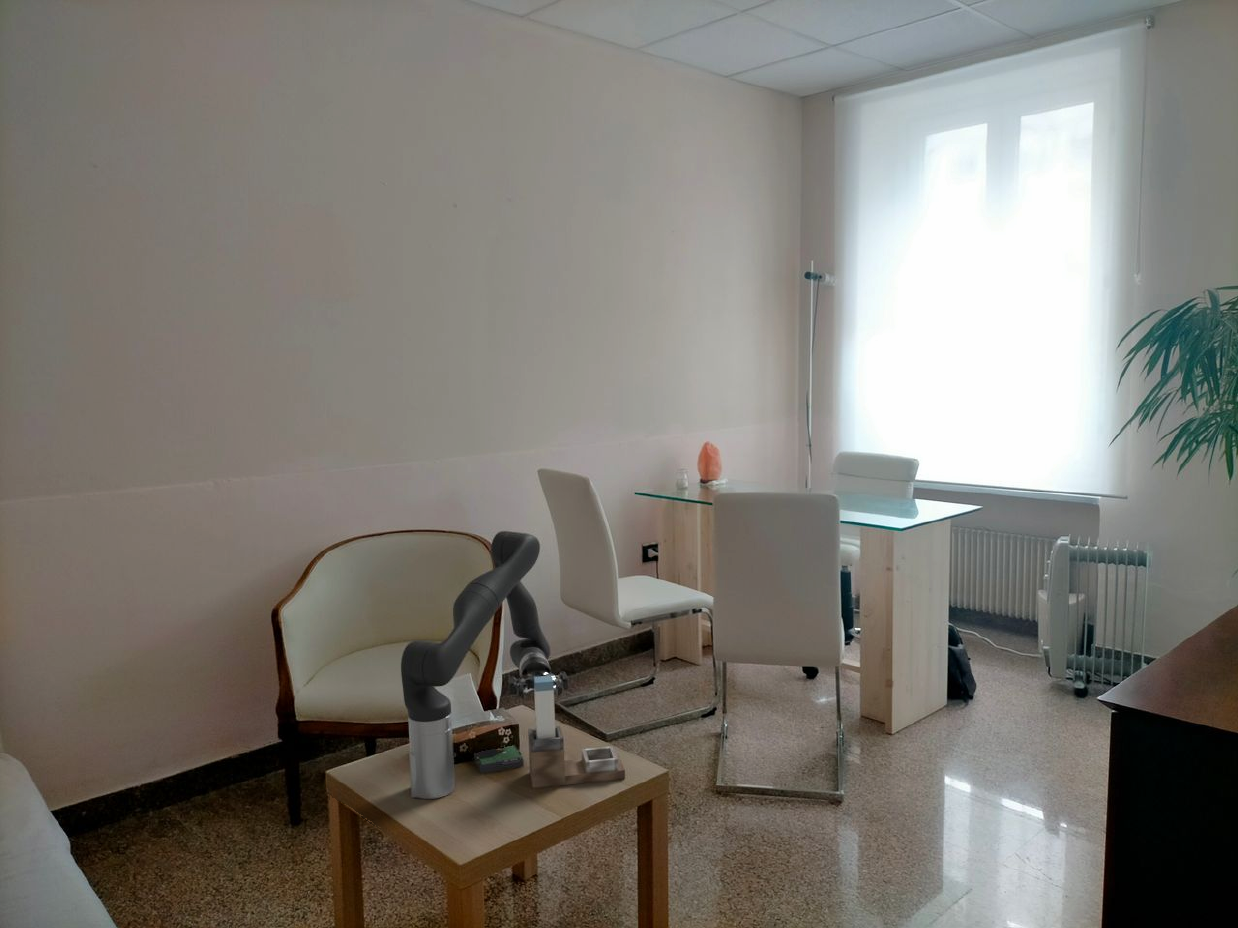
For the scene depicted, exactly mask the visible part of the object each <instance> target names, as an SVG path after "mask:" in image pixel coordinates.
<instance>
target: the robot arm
mask: <svg viewBox="0 0 1238 928" xmlns="http://www.w3.org/2000/svg"><path fill="white" fill-rule="evenodd" d="M490 545H491V546H490V548H491V549H490V553H491V555H490V556H491V559H492V562H493V567H494V569H491V570H489V571H487V572H484V573H482V574H480V575H478V576H476V577H475V578H473V579H472V580H471V581H469V583H467V585H466V586H465V587H464V588H463V590H462V591H461V592H460V593H459V594H458V596H456V597H457V598H456V599H455V600H454V603H453V606H452V607H453V608H452V619H453V628H452V630H451V632H450V634H448V636H447V637H446V638H445V639H444V640H443V641H442V642H438V641H437V642H436V641H426V640H414V641H411V642H409V643H408V644H407V645H406V646H405V648H404V650H403V653H402V655H401V661H400V673H401V674H400V675H401V684H402V692H403V703H404V705H405V707H406V710H407V716H408V717H407V719H408V735H409V736H408V737H409V756H408V757H409V771H410V789H411V790H410V791H411V798H419V799H426V800H427V799H428V800H430V799H438V798H439V799H440V798H442V797H446V796H447V795H449V794H450V795H451V793H452V792H454V790H455V788H456V784H455V779H456V778H455V764H454V763H455V760H454V741H453V740H454V739H453V724H452V723H453V720H452V702H451V700H450V699H449V697H447V696H446V695H445V694H443V693H442V692H440V691H439V690H438V689H437V688H436V687H443V686H446V685H447V684H449V682H451V681H452V679H453V678H454V676H455V675H456V674H457V672H458V670H459V668H460V667H461V665H462V664H463V662H464V660H465V658H466V656H467V655H468V653H469V651H470V649H471V647H472V646H473V644H474V642H475V641H476V640H477V639H478V636H479V635H480V634H481V632H482V631H483V630H484V629H485V627H486V625H488V623H489V622H490V620H492V618H493V617H494V615H495V614H496V613H497V611H498V609H500V607H501V605H502V603H503V602H504V601H505V600H506V601H507V605H508V609H509V616H510V620H511V621H510V622H511V627H512V631H513V635H515V636H516V637H518V638H521V639H518V640H516V641H514V642H513V643H512V644H511V645H510V648H509V656H510V659H511V661H512V663H513V665H514V666H515V667H516V668H517V669H518V670H519V678H516V677H515V676H514V675H509V676H508V694H510V695H513V694H515V693H516V695H517V697H518V698H520V699H525V696H524V695H525V694H527V693H529V692H530V691H532V692H534V677H539V676H551V675H552V678H553V683H554V691H556V695H557V696H561V695H562V694H563V693H564V690H569V689H570V685H569V683H570V682H569V680H570V678H569V676H568V675H567V673H566V672H565V671H560V672H559V674H558V675H555V674H554V673H552V670H551V666H550V663H549V661H548V660H549V658H550V656H551V646H550V644H549V642H548V640H547V638H546V636H545V634H544V632H543V630H542V628H541V625H540V620H539V615H538V608H537V604H536V602H535V599H534V597H533V596H532V595H531V592H529V591H528V589H527V588H526V587H525V585H524V584H523V583H522V579H523V578H525V576H526V575H527V574H528V573H529V572H530V570H532V568H533V567H534V565H536V563H537V560H538V558H539V556H540V550H541V545H540V542H539V539H538V538H537V537H536V536H535V535H533V534H530V533H525V532H524V533H523V532H517V531H509V530H508V531H507V530H504V531H503V530H501V531H498V532H497V533H496V534H495V535H494V537H493V539H492V541H491V544H490Z"/></svg>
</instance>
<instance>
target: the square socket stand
mask: <svg viewBox="0 0 1238 928" xmlns="http://www.w3.org/2000/svg"><path fill="white" fill-rule="evenodd" d="M527 732H528V755H529V757H528V759H529V774H530V780H531V781H530V782H531V786H532V789H537V788H544V787H545V788H547V787H556V786H565V785H577V784H586V783H595V782H596V783H597V782H605V781H615V780H624V779H623V778H625V779H626V770H625V767H624V764H623V763H622V760H621V758H620V755H617V753H616V750H615V748H614V746H601V747H592V748H582V749H581V758H580V759H568V760H565V749H564V748H565V745H564V743H565V742H564V735H563V733H562V732H563V730H562V728H561V726H560V725H555V738H545V739H536V727H535V728H533V727H531V728H528V731H527Z"/></svg>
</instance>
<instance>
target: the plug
mask: <svg viewBox="0 0 1238 928" xmlns="http://www.w3.org/2000/svg"><path fill="white" fill-rule="evenodd" d="M533 693H534V712H535V713H534V715H535V719H534V720H535V728H536V739H545V738H555V726H556V717H555V716H556V715H555V690H554V683H553V678H552V675H551V676H539V677H534V691H533Z"/></svg>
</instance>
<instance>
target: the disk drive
mask: <svg viewBox="0 0 1238 928" xmlns="http://www.w3.org/2000/svg"><path fill="white" fill-rule="evenodd" d="M474 759H475V762H474V764H475V765H476V767H477V770H478V771H479V772H480V773H479V774H481V775H483V774H487V773H488V774H489V773H494V772H500V771H504V770H505V769H506V770H510V768H511V769H516V768H521V767H524V763H525V762H524V758H523V755H522V753H521V751H520V750H519V749H518V747H517V746H516V744H514V745H512V746H507V747H504V748H498V749H491V750H486V751H481V752H478V753H474Z"/></svg>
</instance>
